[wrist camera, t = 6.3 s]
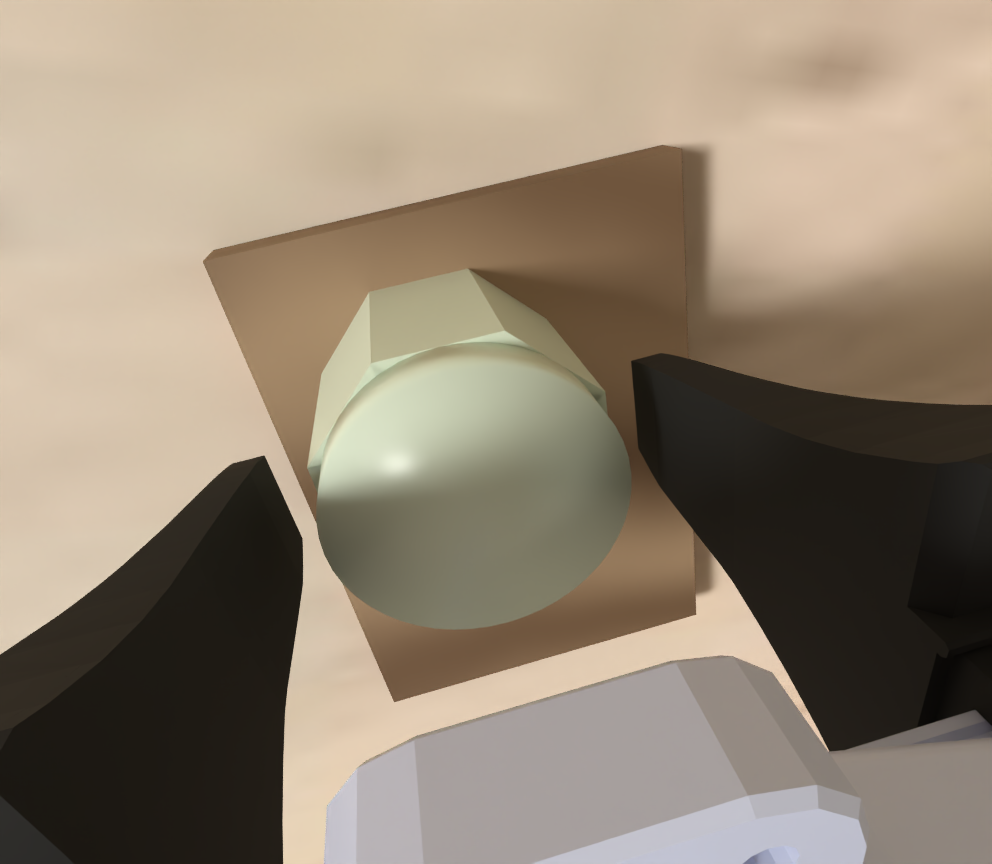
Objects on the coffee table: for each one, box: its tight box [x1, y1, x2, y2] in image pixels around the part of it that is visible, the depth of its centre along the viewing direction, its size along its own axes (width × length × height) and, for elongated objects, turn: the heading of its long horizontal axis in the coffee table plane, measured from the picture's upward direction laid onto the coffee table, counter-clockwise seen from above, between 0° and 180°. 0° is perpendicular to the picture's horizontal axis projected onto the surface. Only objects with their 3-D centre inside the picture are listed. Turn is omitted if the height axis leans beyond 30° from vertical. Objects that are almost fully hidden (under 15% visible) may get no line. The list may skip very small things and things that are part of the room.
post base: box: [203, 145, 696, 702], centre depth 15 cm, size 14×10×4 cm
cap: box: [307, 269, 631, 630], centre depth 12 cm, size 5×5×5 cm
